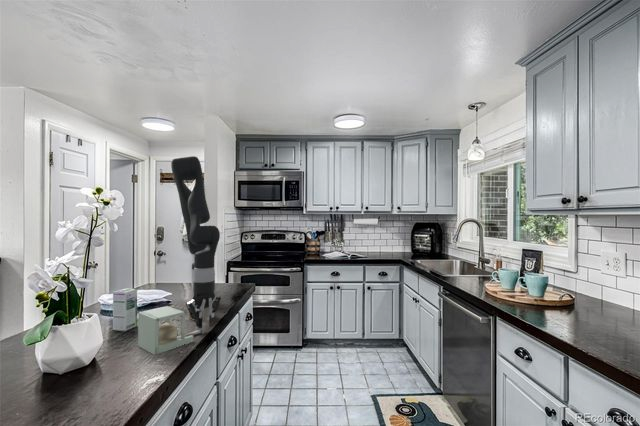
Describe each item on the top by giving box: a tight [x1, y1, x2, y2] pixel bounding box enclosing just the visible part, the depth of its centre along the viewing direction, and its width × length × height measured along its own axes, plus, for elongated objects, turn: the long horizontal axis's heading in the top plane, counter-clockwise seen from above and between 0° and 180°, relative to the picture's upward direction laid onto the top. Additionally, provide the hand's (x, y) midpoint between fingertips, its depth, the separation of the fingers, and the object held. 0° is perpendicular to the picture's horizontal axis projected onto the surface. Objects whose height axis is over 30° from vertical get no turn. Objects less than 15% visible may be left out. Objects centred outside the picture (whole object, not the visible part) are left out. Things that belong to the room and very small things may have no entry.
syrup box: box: [112, 288, 138, 332], centre depth 122 cm, size 6×6×14 cm
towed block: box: [158, 307, 210, 346], centre depth 112 cm, size 19×6×9 cm, turn 143°
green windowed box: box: [137, 305, 195, 356], centre depth 107 cm, size 13×11×11 cm
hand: (203, 326), depth 118 cm, fingers closed on towed block, 3 cm apart
